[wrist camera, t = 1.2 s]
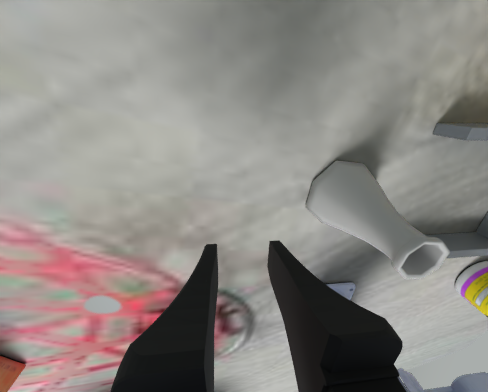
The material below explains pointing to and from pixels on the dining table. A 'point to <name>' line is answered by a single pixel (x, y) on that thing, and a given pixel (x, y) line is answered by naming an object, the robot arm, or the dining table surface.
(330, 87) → the dining table surface
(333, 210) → the flask
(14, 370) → the cracker box
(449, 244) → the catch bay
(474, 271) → the supplement bottle
